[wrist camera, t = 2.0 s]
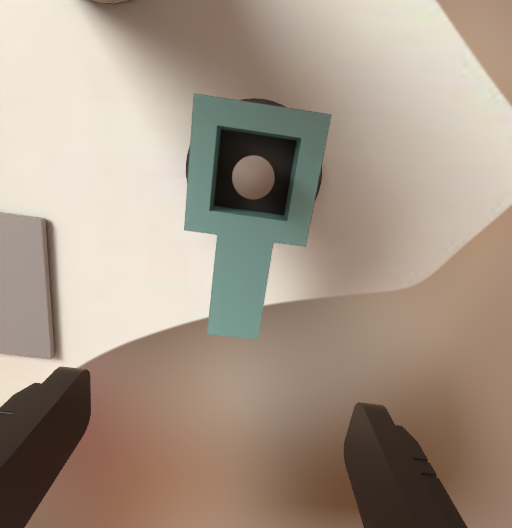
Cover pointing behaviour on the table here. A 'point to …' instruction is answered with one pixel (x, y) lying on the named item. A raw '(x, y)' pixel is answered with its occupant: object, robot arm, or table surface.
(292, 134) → the teal square frame paddle
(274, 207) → the stand
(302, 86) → the table surface
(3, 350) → the mat
